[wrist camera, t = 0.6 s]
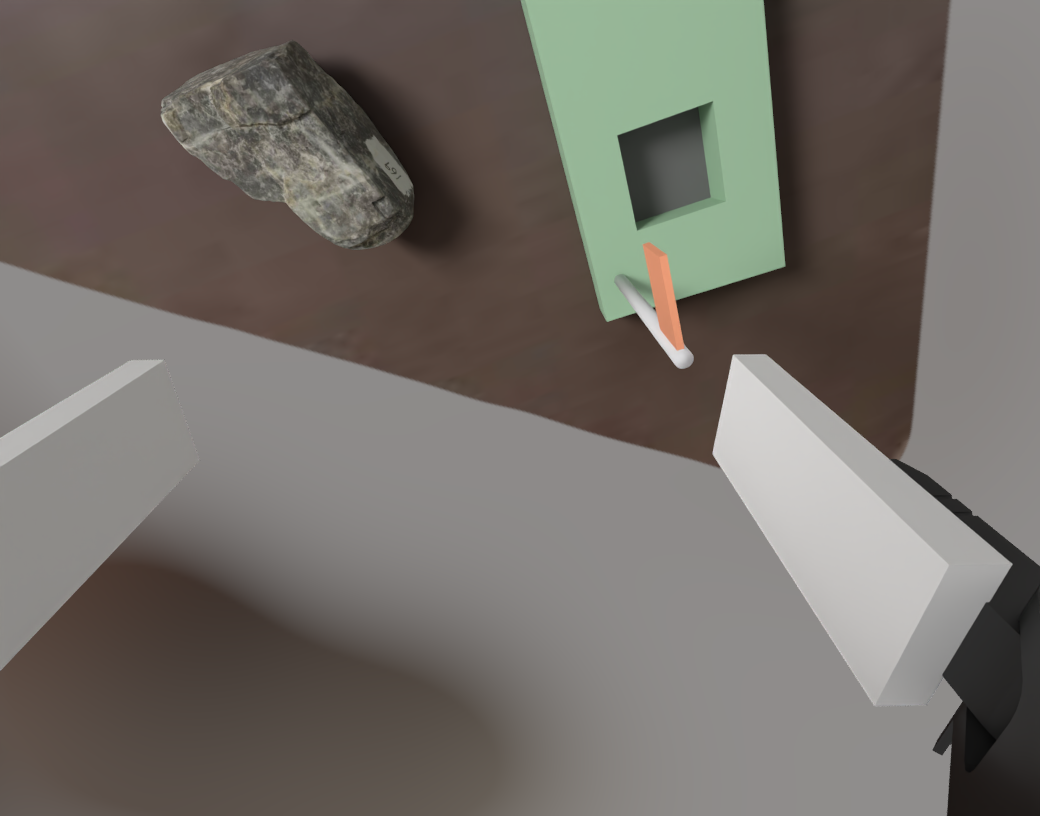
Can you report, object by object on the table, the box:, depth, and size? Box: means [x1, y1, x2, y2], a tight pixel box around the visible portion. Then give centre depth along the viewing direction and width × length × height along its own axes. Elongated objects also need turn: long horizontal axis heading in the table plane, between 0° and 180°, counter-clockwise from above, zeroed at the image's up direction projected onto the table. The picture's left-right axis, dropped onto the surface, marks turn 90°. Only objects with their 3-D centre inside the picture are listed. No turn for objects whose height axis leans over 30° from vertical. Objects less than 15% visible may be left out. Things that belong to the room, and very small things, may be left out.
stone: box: [161, 40, 414, 250], centre depth 30 cm, size 14×7×10 cm, turn 55°
